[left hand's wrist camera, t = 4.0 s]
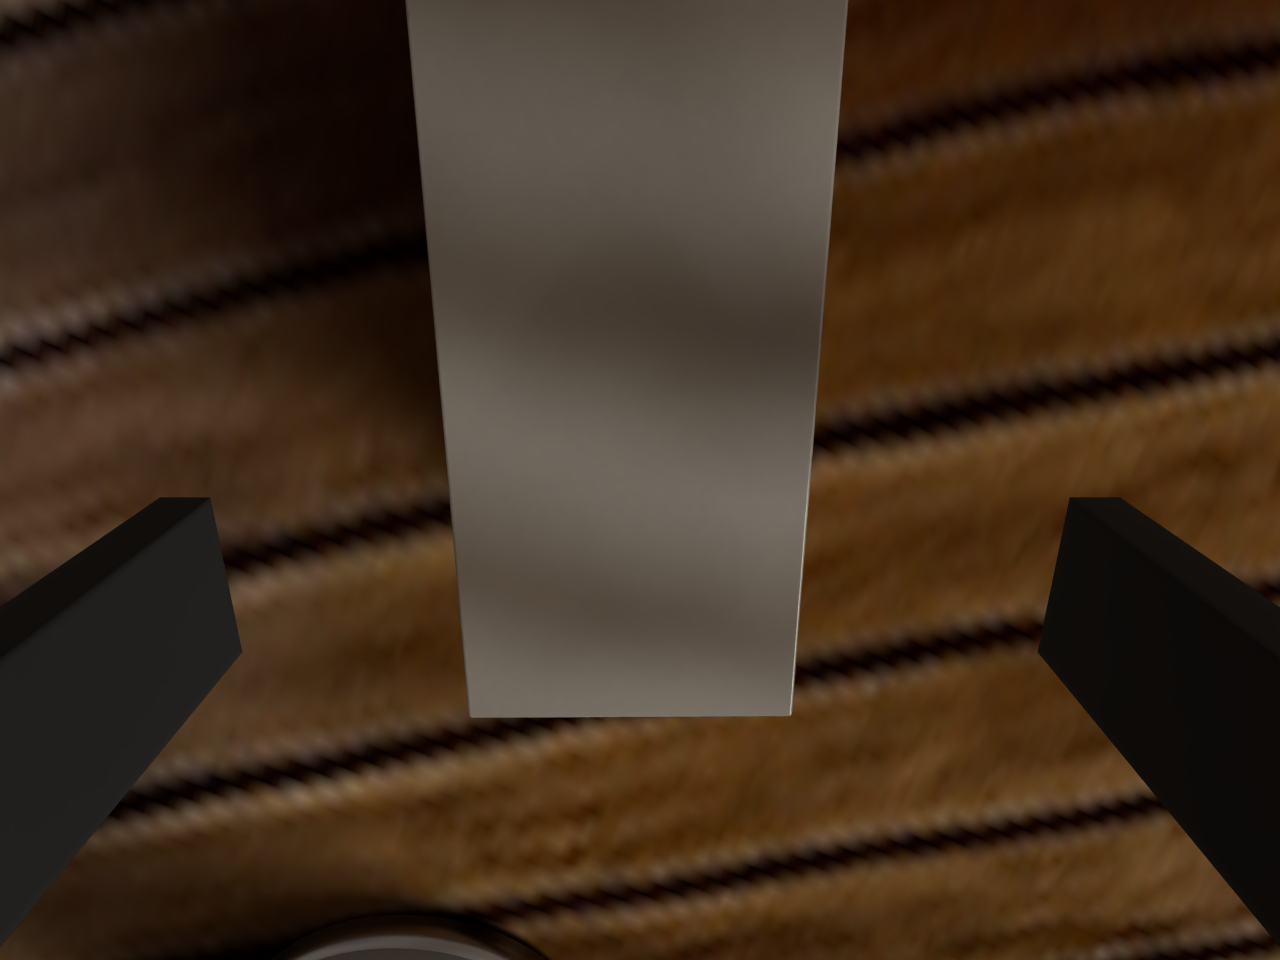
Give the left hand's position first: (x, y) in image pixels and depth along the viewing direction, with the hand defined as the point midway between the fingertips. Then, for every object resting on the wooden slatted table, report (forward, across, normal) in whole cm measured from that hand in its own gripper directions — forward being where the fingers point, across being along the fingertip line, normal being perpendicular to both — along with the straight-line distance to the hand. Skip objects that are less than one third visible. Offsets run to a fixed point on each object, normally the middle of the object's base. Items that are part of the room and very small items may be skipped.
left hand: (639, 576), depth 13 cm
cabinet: (+13, 0, -4) cm, 14 cm away
